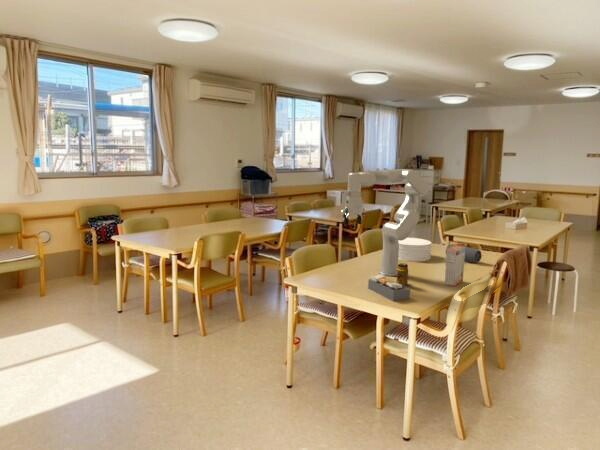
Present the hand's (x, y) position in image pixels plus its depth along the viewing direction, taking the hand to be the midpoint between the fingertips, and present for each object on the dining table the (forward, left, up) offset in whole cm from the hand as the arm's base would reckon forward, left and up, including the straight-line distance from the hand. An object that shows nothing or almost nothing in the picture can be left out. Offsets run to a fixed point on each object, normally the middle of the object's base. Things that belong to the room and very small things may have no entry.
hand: (352, 224), depth 260 cm
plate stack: (-69, -35, -32) cm, 84 cm away
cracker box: (-51, +29, -32) cm, 67 cm away
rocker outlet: (-2, +40, -26) cm, 47 cm away
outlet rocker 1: (-2, +26, -26) cm, 36 cm away
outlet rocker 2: (-2, +33, -26) cm, 42 cm away
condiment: (-21, +22, -32) cm, 44 cm away
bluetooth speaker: (-97, -13, -32) cm, 103 cm away
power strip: (-4, +33, -32) cm, 46 cm away
